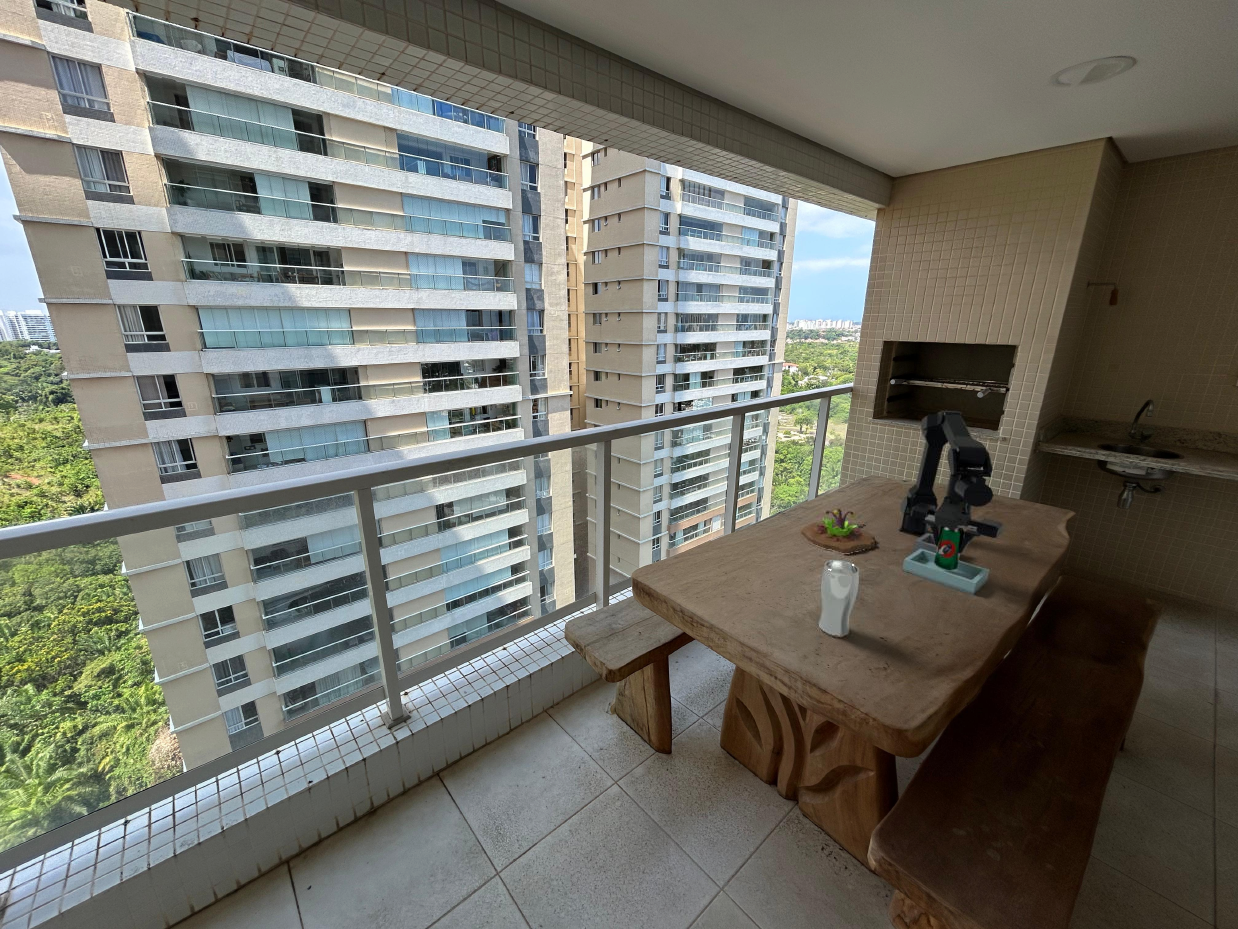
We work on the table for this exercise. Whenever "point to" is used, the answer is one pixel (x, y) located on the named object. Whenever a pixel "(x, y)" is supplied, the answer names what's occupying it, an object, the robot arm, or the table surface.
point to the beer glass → (838, 596)
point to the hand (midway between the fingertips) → (948, 549)
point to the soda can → (949, 547)
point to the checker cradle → (925, 543)
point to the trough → (946, 572)
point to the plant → (838, 534)
